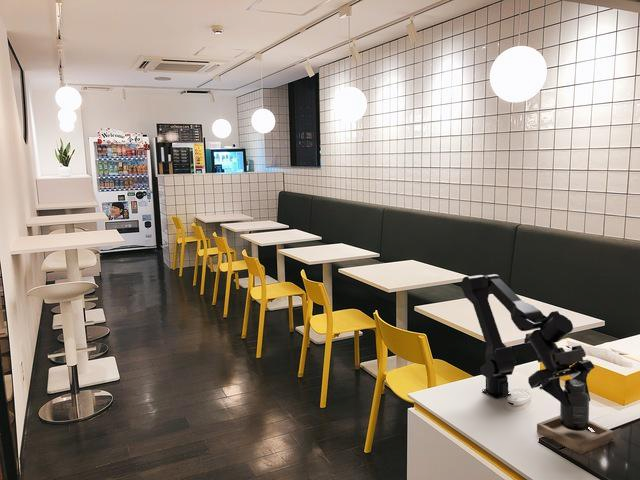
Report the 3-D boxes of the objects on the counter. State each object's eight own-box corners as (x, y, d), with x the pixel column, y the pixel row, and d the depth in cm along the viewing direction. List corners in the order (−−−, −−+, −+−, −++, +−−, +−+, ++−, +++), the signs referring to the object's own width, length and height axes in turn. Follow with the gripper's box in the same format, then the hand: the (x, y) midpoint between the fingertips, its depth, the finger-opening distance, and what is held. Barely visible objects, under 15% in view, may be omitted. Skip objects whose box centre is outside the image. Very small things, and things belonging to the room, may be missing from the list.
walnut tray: (536, 432, 139) (537, 423, 138) (568, 420, 144) (569, 411, 144) (580, 454, 127) (580, 445, 127) (613, 440, 133) (613, 431, 133)
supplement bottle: (590, 423, 136) (592, 380, 135) (585, 434, 131) (587, 390, 129) (563, 416, 140) (564, 375, 139) (556, 427, 135) (558, 384, 133)
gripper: (537, 341, 133) (570, 399, 124) (590, 331, 139) (625, 384, 131) (514, 360, 141) (544, 415, 132) (565, 349, 148) (597, 401, 139)
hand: (578, 403), depth 134 cm, fingers closed on supplement bottle, 7 cm apart
